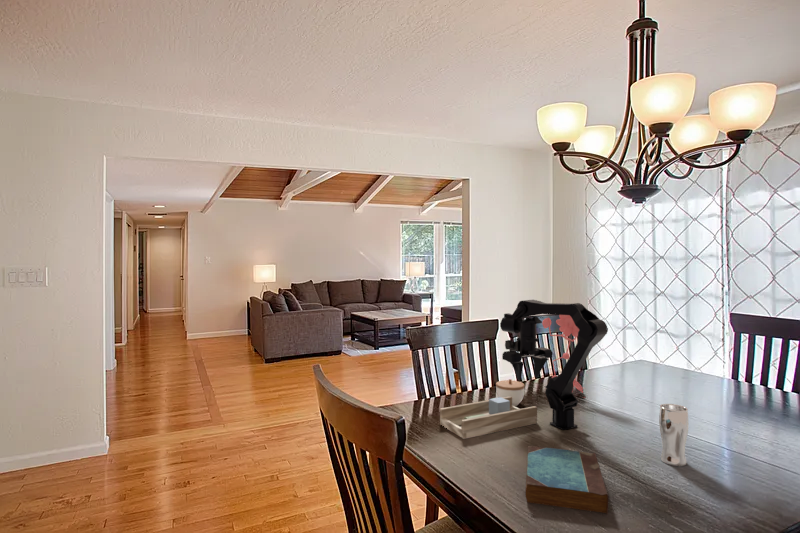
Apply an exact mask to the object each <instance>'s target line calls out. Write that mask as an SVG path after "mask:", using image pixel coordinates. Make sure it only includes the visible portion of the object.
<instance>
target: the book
mask: <svg viewBox="0 0 800 533" xmlns="http://www.w3.org/2000/svg"><path fill="white" fill-rule="evenodd" d="M597 457H598V456H597V454H596V452H585V451H579V450H571V449H563V448H553V447H546V446H545V447H543V446H535V445H532V446H531V445H528V446H527V455H526V475H525V492H524V493H525V498H526V502H527V503H528V504H529V503H531V504H537V505H538V504H539V505H544V506H551V507H559V508H567V509H574V510H580V511H582V510H583V511H587V512H588V511H590V512H596V513H603V514H604V513H605V514H606V515H608V514H609V500H610V499H609V494H608V491H607V487H606V484H605V481H604V477H603V474H602V471H601V468H600V464H599V460H598V458H597Z"/></svg>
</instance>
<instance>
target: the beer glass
mask: <svg viewBox="0 0 800 533" xmlns="http://www.w3.org/2000/svg"><path fill="white" fill-rule="evenodd" d="M659 405H660V408H659V415H658V416H659V420H658V425H659V432H660V436H661V442H662V443H661V444H662V450H661V455H660V459H661V461H662V462H663V463H665V464H667V465H670V466H674V467H675V466H676V467H684V466H686V465H687V458H686V450H685V449H686V445H687V438H688V433H689V412H688V410H689V409H688V408H687V407H685V406H684V405H680V404H674V403H661V404H659Z"/></svg>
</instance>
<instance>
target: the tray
mask: <svg viewBox="0 0 800 533" xmlns="http://www.w3.org/2000/svg"><path fill="white" fill-rule="evenodd" d="M503 398H504V399H506V400H509V401H510V411H507V412H501V413H496V414H489V399H487V400H482V401H476V402H468V403H463V404H457V405H453V406H448V407H441V408H440V407H439V425H440V426H441V425H442V427H443V426H444V427H443V428H444V429H446V428H447V429H446V430H448V431H450V432H451V433H453V434H455V435H456V436H458V437H460V438H461V439H463V440H465V439H470V438H474V437H475V438H476V437H479V436H484V435H487V434H488V435H489V434H493V433H497V432H502V431H503V432H504V431H507V430H511V429H516V428H520V427H526V426H531V425H535V424H537V423H538V407H537V406H536V405H534V406H529V407H524V408H519V407H517V406H512V397H510V396H509V397H503Z"/></svg>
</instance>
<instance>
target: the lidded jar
mask: <svg viewBox="0 0 800 533" xmlns="http://www.w3.org/2000/svg"><path fill="white" fill-rule="evenodd" d="M495 386H496V396H497V398H498V397H501V398H503V397H509V396H510V397H512V406H515V407H517V406H518V405H519V404H520V403H521V402H522V400H524V395H525V384H524V383H523V382H521V381H519V380H512V379H508V380H506V379H505V380H504V379H503V380H499V381H496V383H495Z"/></svg>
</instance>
